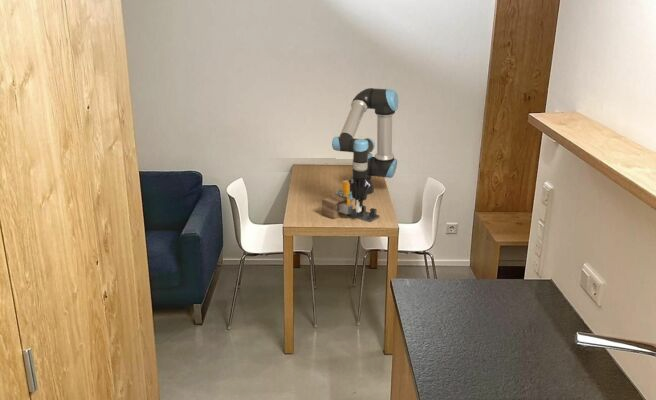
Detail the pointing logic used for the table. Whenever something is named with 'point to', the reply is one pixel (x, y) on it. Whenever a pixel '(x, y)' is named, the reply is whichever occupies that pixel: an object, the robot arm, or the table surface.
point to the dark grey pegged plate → (364, 214)
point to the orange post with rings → (346, 191)
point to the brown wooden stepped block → (332, 206)
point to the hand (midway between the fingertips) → (358, 211)
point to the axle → (344, 208)
